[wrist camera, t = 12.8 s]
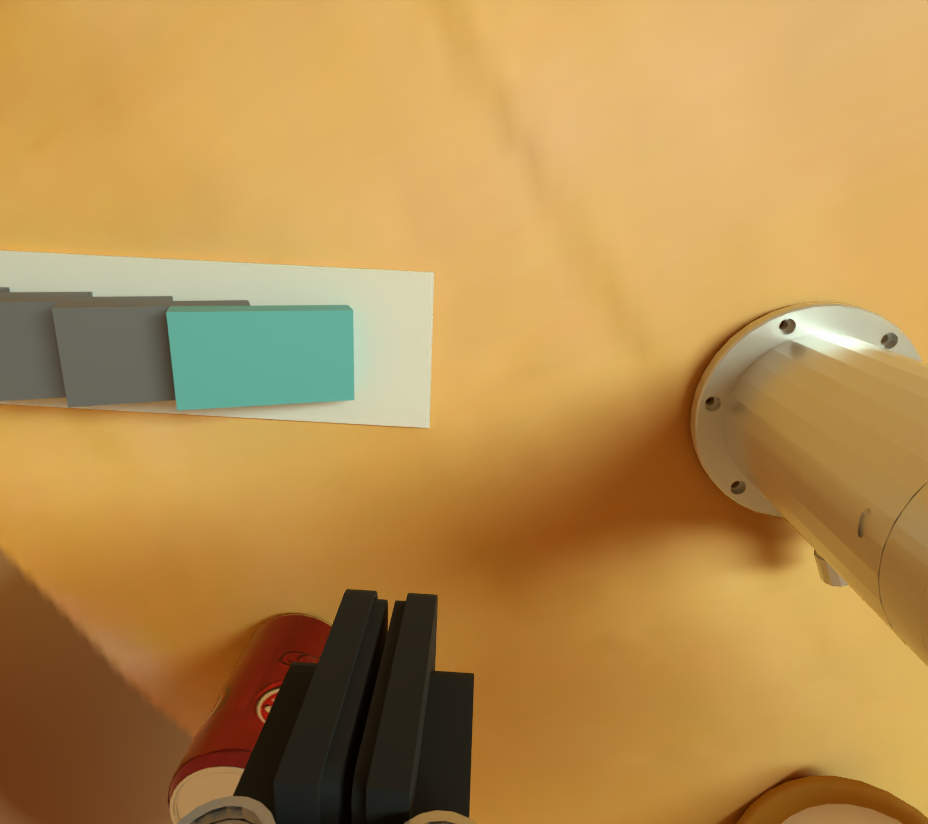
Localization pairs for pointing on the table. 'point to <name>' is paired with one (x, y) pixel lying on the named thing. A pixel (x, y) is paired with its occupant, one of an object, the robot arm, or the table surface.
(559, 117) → the table surface
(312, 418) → the plate
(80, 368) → the domino
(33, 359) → the domino
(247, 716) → the soda can
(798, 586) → the table surface
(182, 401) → the domino
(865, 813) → the flared yellow plastic housing
